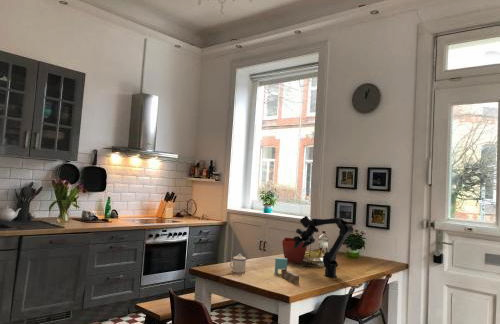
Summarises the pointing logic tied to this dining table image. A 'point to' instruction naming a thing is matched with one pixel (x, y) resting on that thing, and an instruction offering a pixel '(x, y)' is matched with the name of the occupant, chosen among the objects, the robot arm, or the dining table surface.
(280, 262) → the teal notched plate
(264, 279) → the dining table surface
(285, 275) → the walnut rail
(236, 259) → the teacup with lid
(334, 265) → the robot arm
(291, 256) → the plant pot
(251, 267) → the dining table surface
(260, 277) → the dining table surface
